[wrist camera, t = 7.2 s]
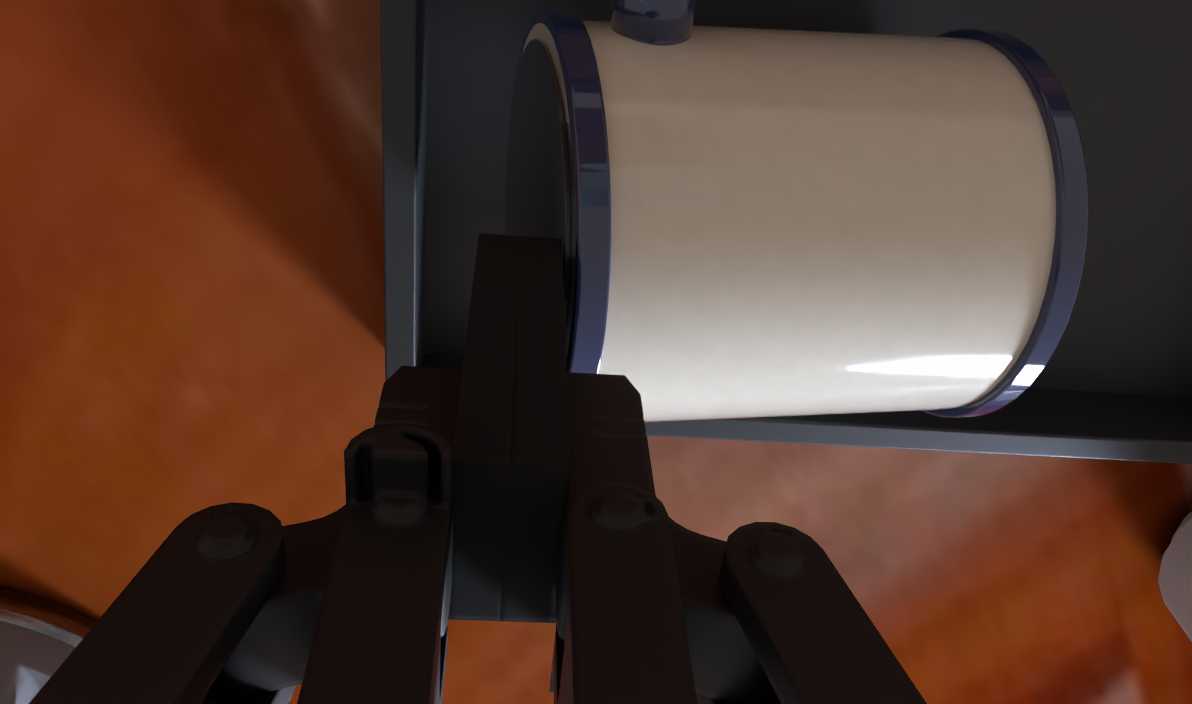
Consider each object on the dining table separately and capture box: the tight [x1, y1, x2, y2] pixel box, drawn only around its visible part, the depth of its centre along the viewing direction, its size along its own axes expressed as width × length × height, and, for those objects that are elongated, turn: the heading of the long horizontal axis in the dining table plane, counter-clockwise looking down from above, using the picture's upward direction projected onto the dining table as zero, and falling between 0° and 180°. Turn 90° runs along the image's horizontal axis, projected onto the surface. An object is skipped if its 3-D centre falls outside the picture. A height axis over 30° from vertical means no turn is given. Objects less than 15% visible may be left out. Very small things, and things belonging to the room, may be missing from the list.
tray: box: [381, 0, 1192, 464], centre depth 27 cm, size 26×16×3 cm, turn 84°
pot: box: [505, 0, 1089, 422], centre depth 23 cm, size 10×12×9 cm
